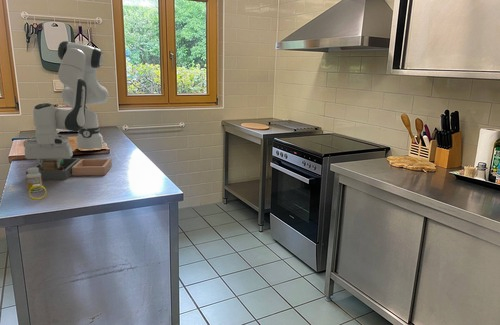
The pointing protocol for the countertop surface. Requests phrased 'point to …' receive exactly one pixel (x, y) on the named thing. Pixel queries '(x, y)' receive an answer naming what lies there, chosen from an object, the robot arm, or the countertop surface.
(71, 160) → the charcoal bin
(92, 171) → the terracotta bin
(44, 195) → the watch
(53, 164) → the walnut block
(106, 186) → the countertop surface
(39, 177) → the supplement bottle
